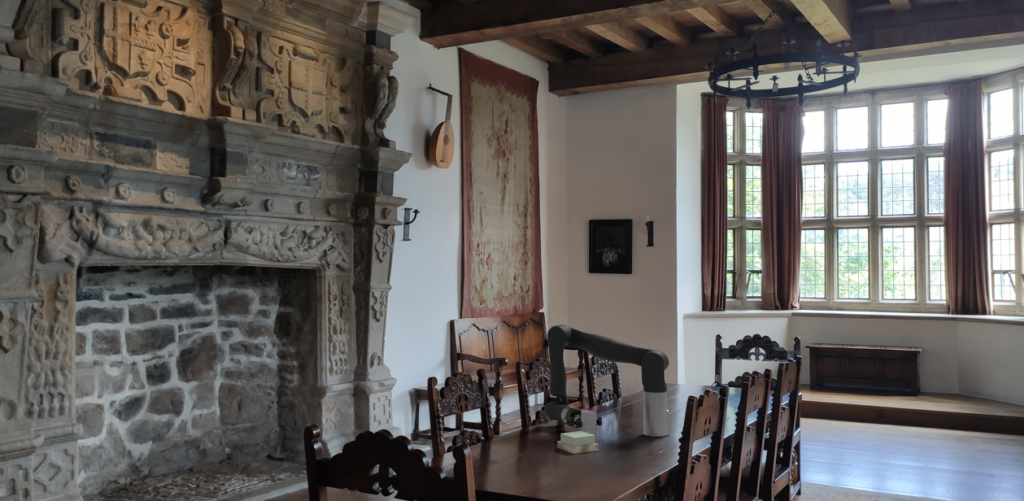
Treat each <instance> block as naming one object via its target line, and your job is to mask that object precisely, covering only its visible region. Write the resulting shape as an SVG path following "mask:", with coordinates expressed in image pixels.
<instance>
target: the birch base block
mask: <svg viewBox="0 0 1024 501" xmlns="http://www.w3.org/2000/svg"><path fill="white" fill-rule="evenodd" d="M556 447H557V449H558V450H559V449H560V450H563V451H564V452H568V453H570V454H573V455H575V454H582V453H583V454H584V453H590V452H597V451H599V452H600V443H597V442H595V444H589V445H582V446H572V445H569V444H566V443H563V442H561V440H557V446H556Z"/></svg>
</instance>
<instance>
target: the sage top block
mask: <svg viewBox="0 0 1024 501" xmlns="http://www.w3.org/2000/svg"><path fill="white" fill-rule="evenodd" d="M560 441H561V442H563V443H566V444H569V445H572V446H582V445H589V444H595V443H596V440H595V435H592V434H589V433H586V432H582V431H581V430H577V431H571V432H563V433H562V432H561V433H560Z"/></svg>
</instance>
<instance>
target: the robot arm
mask: <svg viewBox="0 0 1024 501" xmlns="http://www.w3.org/2000/svg"><path fill="white" fill-rule="evenodd" d="M546 337H547V340H546V341H547V347H548V355H549V368H550V369H549V370H550V371H549V372H550V373H549V375H550V376H549V394H550V395H551V396H553V397H556V398H559V401H550V402H548V403H547V404H546V405H545V407H544V413H545V416H546V417H547V418H548V419H549V420H552V421H559V422H560V421H561V422H563V423H564V424H565V425H566V426H568V427H572V428H574V429H581V427H582V421H581V411H582V410H583V409H581V408H578V407H576V406H571V405H570V403H569V400H568V398H569V397H568V394H567V383H568V382H567V381H568V380H567V379H568V378H567V372H566V370H567V369H566V367H565V362H564V361H565V360H564V351H565V347H572V348H576V349H580V350H583V351H585V352H587V353H588V354H590V356H594V357H595V358H599V359H602V360H604V361H605V360H606V361H608V362H614V363H622V364H631V365H636V366H638V367H641V370H640V371H641V384H642V388H643V390H642V391H643V394H642V395H643V398H642V399H643V435H645V436H647V437H659V438H660V437H666V436H668V435H670V411H669V410H668V386H667V383H666V380H665V371H666V369H667V368H668V367H669V364H670V361H669V360H670V359H669V358H668V355H666V354H665V352H663V351H661V350H658V349H651V348H645V347H640V346H636V345H633V344H630V343H628V342H624V341H622V340H618V339H616V338H612V337H608V336H604V335H600V334H596V333H589V332H585V331H582V330H580V329H576V328H574V327H572V326H569V325H567V324H556V325H553V326H551V327H550V328H549V329H548V331H547V334H546ZM602 418H603V417H602V416H599V415H597V427H601V426H602V425H603V419H602Z"/></svg>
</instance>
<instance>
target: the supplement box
mask: <svg viewBox="0 0 1024 501" xmlns="http://www.w3.org/2000/svg"><path fill="white" fill-rule="evenodd" d="M581 410H582V411H581V421H582V427H580V431H582V432H586V433H589V434H592V435H595V441H596V440H597V439H598V438H597V435H598V434H597V433H598V432H597V431H598V428H597V427H598V425H597V416H598V410H597V409H590V408H588V409H587V408H582V409H581Z"/></svg>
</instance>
